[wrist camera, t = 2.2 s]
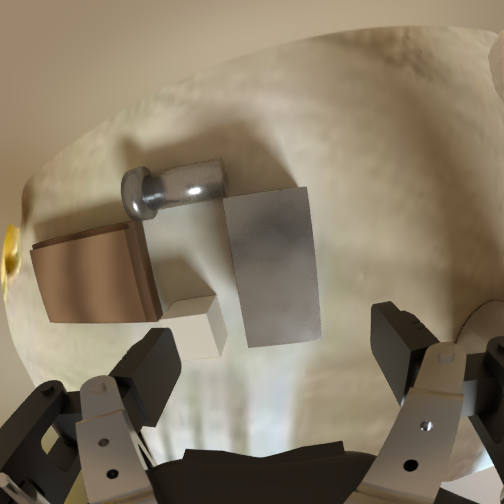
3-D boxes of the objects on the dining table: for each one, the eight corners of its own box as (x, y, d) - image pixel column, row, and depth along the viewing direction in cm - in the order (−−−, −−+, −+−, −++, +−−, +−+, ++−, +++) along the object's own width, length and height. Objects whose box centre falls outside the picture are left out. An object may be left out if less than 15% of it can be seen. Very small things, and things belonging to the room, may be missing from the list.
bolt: (223, 153, 22) (211, 145, 18) (230, 204, 23) (220, 208, 18) (142, 170, 23) (117, 169, 18) (149, 218, 23) (126, 225, 19)
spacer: (217, 294, 24) (206, 313, 21) (228, 334, 25) (220, 357, 21) (175, 300, 25) (159, 319, 21) (188, 339, 26) (175, 361, 22)
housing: (299, 187, 22) (307, 186, 16) (312, 305, 24) (322, 340, 18) (235, 195, 23) (221, 198, 17) (254, 312, 25) (247, 348, 19)
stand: (141, 218, 23) (128, 222, 21) (163, 314, 25) (153, 326, 23) (40, 242, 25) (26, 246, 23) (61, 317, 27) (49, 326, 24)
